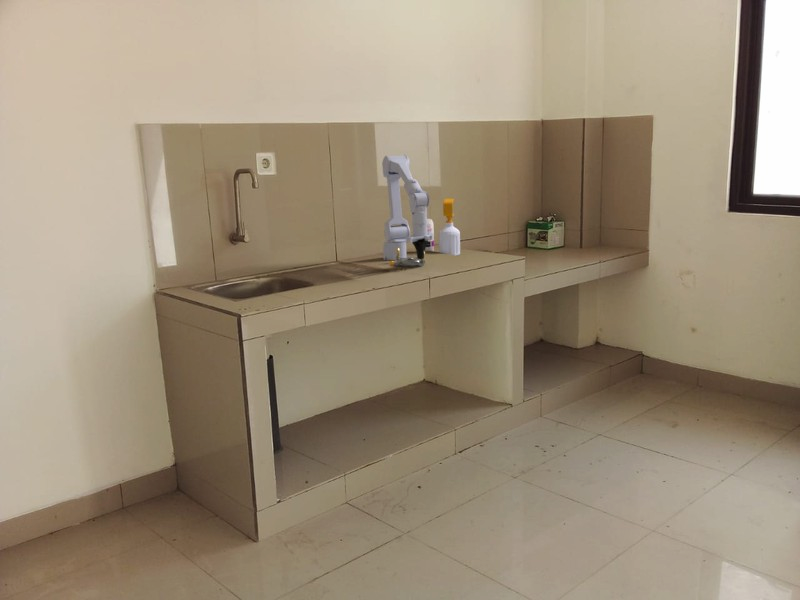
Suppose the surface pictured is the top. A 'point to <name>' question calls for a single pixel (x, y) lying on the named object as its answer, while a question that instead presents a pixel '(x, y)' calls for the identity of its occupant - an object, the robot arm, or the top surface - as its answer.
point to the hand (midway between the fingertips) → (420, 258)
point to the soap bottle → (449, 232)
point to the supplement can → (431, 240)
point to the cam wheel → (407, 260)
